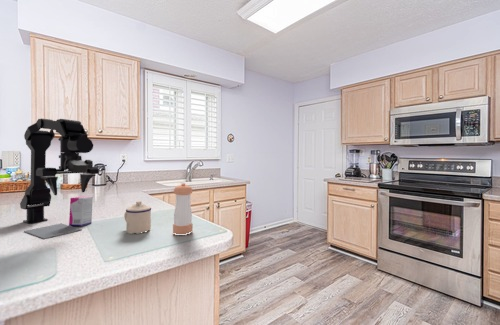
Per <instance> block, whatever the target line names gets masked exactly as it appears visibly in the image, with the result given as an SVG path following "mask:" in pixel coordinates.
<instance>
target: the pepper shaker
mask: <svg viewBox="0 0 500 325" xmlns="http://www.w3.org/2000/svg"><path fill="white" fill-rule="evenodd" d="M173 193H174V195H175V206H174V208H175V209H174V211H173V222H174V223H173V224H172V234H173V233H176V234H186V233H189V232H191V231H192V232H193V222H192V219H193V218H192V217H193V213H192V208H191V207H192V206H191V194H192V193H193V188H192V186H190V185H187V184H186V183H181V184H180V185H177V186H175V187H174V189H173Z"/></svg>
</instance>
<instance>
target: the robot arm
mask: <svg viewBox="0 0 500 325" xmlns="http://www.w3.org/2000/svg"><path fill="white" fill-rule="evenodd" d="M41 129H42V130H41ZM43 129H44V130H43ZM45 129H46V130H45ZM48 130H49V131H48ZM54 131H55V132H56V133H57V134H59V135H60V137H59V138H58V141H60V142H59V143H60V145H59V147H60V148H59V149H60V151H59V152H60V153H59V155H58V159H60V162H59V163H60V164H59V166H58V168H56V167H46V163H47V162H46V156H47V155H46V154H47V151H48V149H49V148H50V147H51V144H52V141H53V139H54V138H55V136H56V135H55V132H54ZM23 138H24V140H25V145H26V146H27V148H28V149H30V181H29V182H30V184H29V185H28V186H27V188H26V189H25V191H24V195H23V197H22V198H21V201H20V203H19V205H20V209H21V210H25V211H26V219H24V220H22V222H23V223H25V224H29V225H31V224H35V223H40V222H46V221H48V220H49V219H47V218H45V207H50V206H51V201H52V194H53V195H54V196H58V185H57V184H58V182H57V181H58V178H59V177H58V176H56V175H64V174H66V175H67V174H80V189H81V192H82V193H85V191H86V189H87V188H88V185H89V182H90V180H92V178H93V177H96V174H97V175H98V174H100V169H99V167H98V166H94V162H93V160H92V159H85V160H82V155H80V154H88V153H90V152H91V151H92V150H93V149H94V143H93V141H92V140H91V138H89V137H88V133H87V131H86V130H85V128H84V126H83V124H82V122H81V121H80V120H74V119H66V118H59V119H56V120H53V119H47V118H38V119H37V120H36V122H34V123H33V124H31V125H29V126H28V127H27V128H26V130H25V132H24V135H23ZM46 183H47V185H46ZM48 186H49V187H48ZM51 192H52V194H51Z"/></svg>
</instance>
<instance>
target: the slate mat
mask: <svg viewBox="0 0 500 325" xmlns="http://www.w3.org/2000/svg"><path fill="white" fill-rule="evenodd" d="M82 230H83V229H82V228H79V227H77V226H69V224H64V223H56V224H51V225H46V226H42V227H37V228H36V227H35V228H32V229H26V230H24V231H23V232H24V233H27V234H29V235H32V236H35V237H37V238H39V239H42V240H45V239H46V240H47V239H50V238H55V237H60V236H62V235H67V234H71V233H76V232H79V231H82Z"/></svg>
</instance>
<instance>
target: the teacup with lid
mask: <svg viewBox="0 0 500 325" xmlns="http://www.w3.org/2000/svg"><path fill="white" fill-rule="evenodd" d="M125 209H126V210H125V212H124V215H123V216H124V220H125V221H124V222H126V224H125V225H126V228H125V230H126V233H127V234H129V233H141V232H145V231H148V230H149V231H150V230H151V226H152V224H151V223H152V222H151V221H152V219H151V215H152V214H151V212H152V207H151V206H150V205H147V204H145V203H142V200H141V201H140V200H137V201H136V202H135V204H132V205H131V206H128V207H127V208H125ZM149 231H148V232H149ZM145 233H146V232H145ZM141 234H142V233H141Z"/></svg>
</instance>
